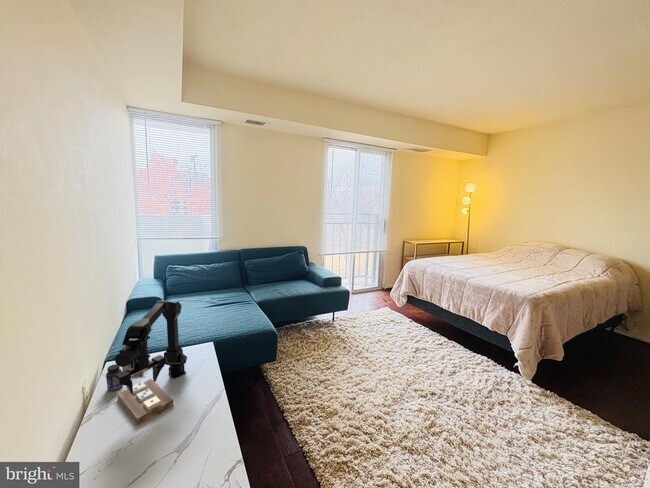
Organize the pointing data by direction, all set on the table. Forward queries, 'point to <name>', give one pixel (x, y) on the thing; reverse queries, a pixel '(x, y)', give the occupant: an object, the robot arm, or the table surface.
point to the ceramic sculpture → (131, 368)
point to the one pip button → (151, 403)
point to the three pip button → (144, 395)
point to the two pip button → (138, 388)
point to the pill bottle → (112, 377)
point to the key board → (136, 407)
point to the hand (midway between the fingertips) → (143, 387)
